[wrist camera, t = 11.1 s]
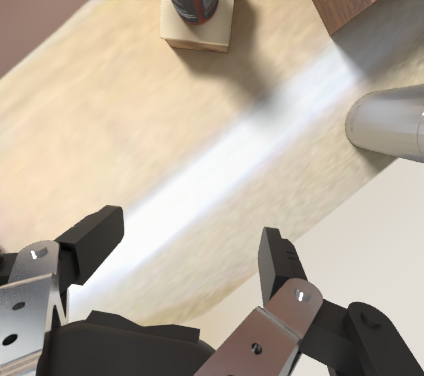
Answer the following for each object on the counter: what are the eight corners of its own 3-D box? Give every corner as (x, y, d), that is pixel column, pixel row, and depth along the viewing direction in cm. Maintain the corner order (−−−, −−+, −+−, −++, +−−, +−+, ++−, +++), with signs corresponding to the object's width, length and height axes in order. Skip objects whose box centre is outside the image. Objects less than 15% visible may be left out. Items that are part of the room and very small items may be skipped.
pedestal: (236, -21, 30) (239, -46, 26) (228, 54, 33) (228, 44, 29) (171, -28, 31) (162, -54, 26) (169, 48, 34) (160, 37, 29)
